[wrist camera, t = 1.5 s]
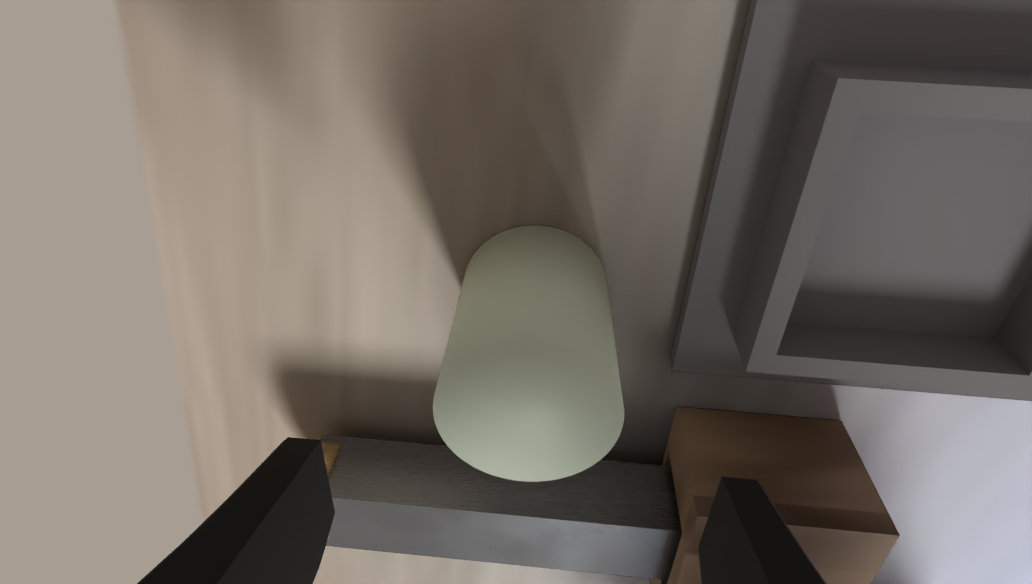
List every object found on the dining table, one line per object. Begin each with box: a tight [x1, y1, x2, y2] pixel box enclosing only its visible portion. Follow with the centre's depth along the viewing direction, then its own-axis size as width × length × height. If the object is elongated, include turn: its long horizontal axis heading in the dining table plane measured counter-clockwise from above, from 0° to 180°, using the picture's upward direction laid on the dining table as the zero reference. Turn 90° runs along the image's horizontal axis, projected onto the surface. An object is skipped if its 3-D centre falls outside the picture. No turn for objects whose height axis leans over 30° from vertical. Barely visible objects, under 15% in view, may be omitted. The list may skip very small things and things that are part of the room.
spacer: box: [433, 225, 624, 482], centre depth 15 cm, size 4×4×5 cm
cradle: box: [670, 0, 1032, 401], centre depth 14 cm, size 10×10×2 cm
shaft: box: [320, 434, 682, 580], centre depth 19 cm, size 14×3×3 cm, turn 88°
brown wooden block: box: [649, 407, 900, 584], centre depth 19 cm, size 5×6×4 cm
